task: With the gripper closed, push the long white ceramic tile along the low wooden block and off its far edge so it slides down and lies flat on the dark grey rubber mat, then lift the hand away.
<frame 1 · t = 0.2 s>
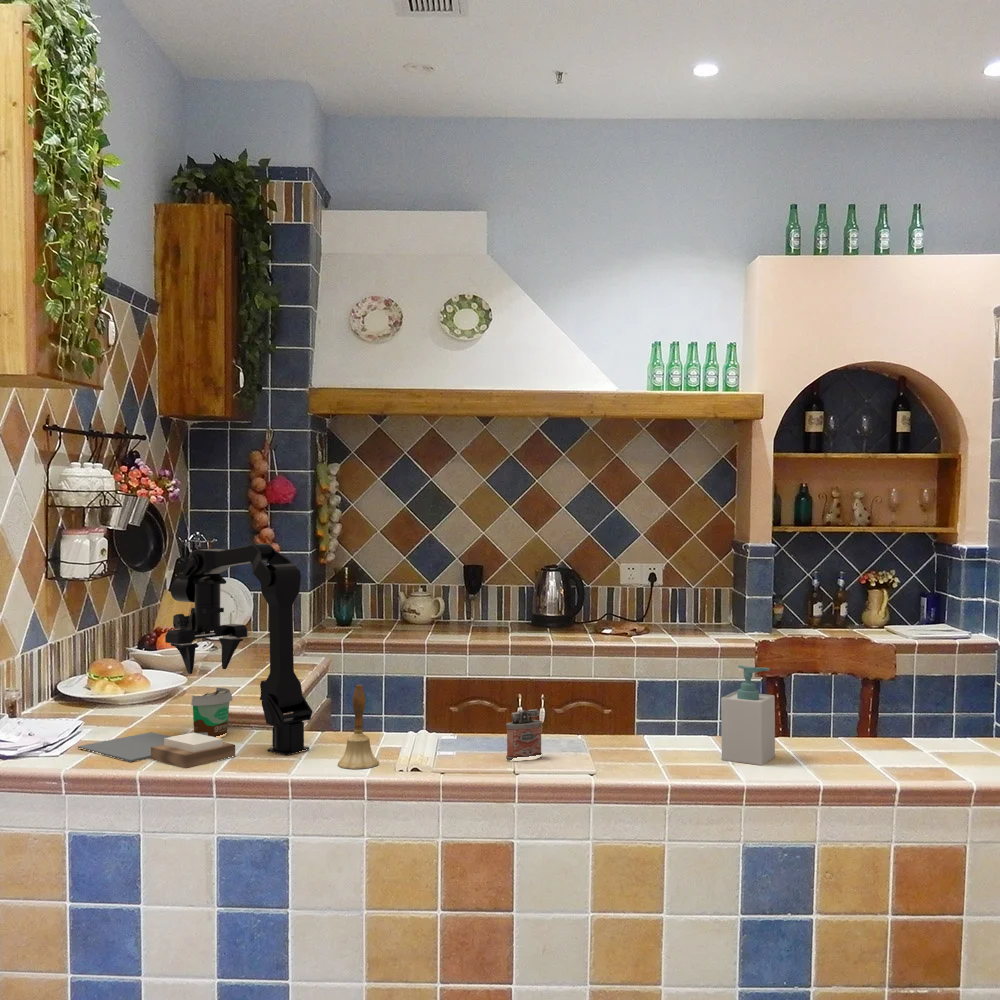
hand: (207, 671, 228), 14 cm above the countertop, tool pointing down, fingers open, 9 cm apart
lighter: (524, 759, 205), on the countertop
wooden block: (193, 757, 206), on the countertop
mat: (141, 747, 215), on the countertop
hand bell: (358, 765, 200), on the countertop
soap bottle: (748, 759, 205), on the countertop
food container: (216, 736, 227), on the countertop
tile: (193, 745, 206), point 2 cm above the countertop, touching wooden block
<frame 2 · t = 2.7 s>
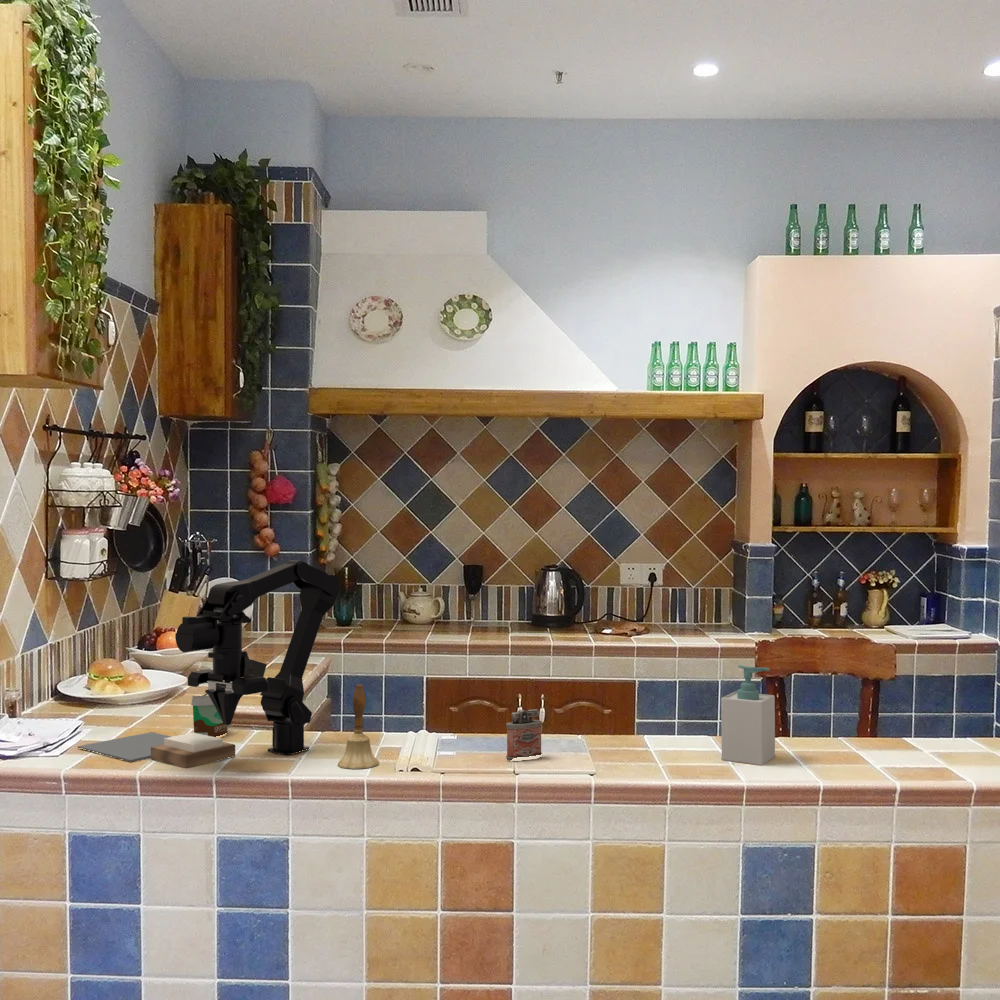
hand: (227, 724, 199), 8 cm above the countertop, tool pointing down, fingers closed
nothing on the countertop moved.
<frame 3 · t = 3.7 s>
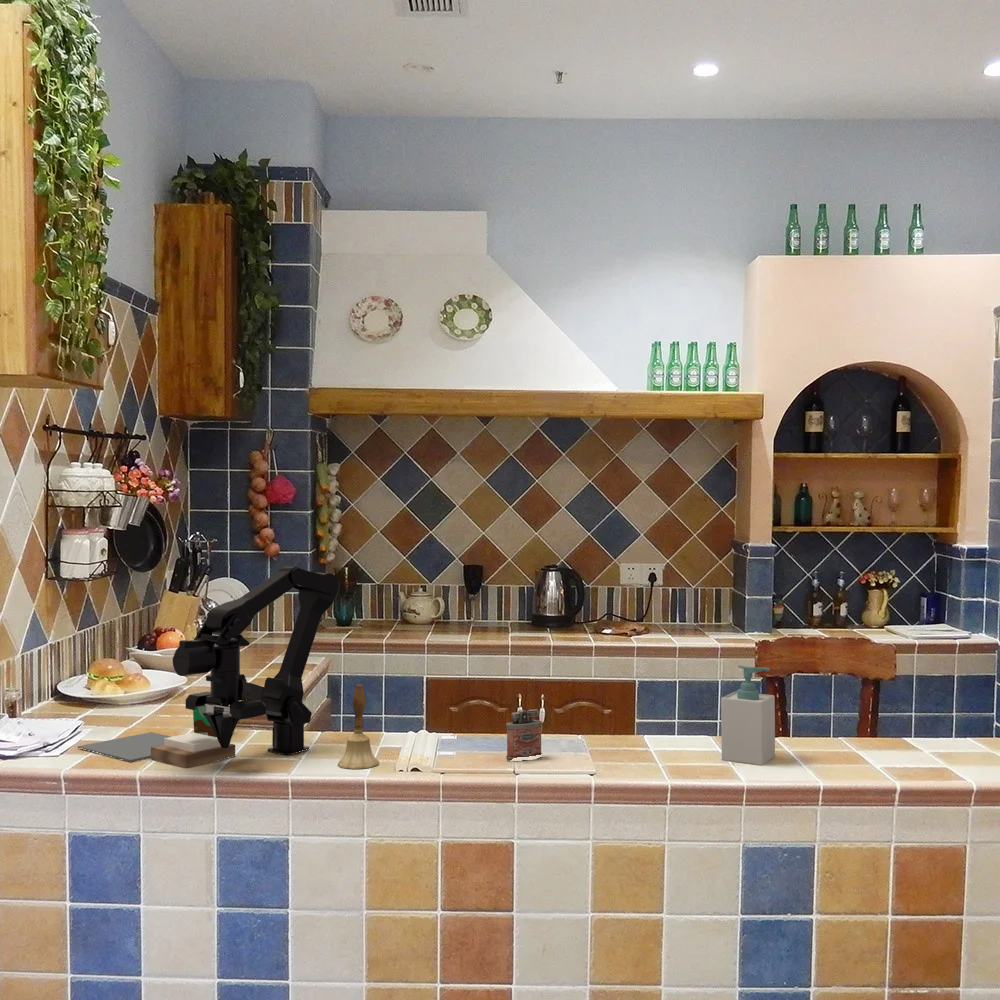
hand: (224, 747, 199), 4 cm above the countertop, tool pointing down, fingers closed
nothing on the countertop moved.
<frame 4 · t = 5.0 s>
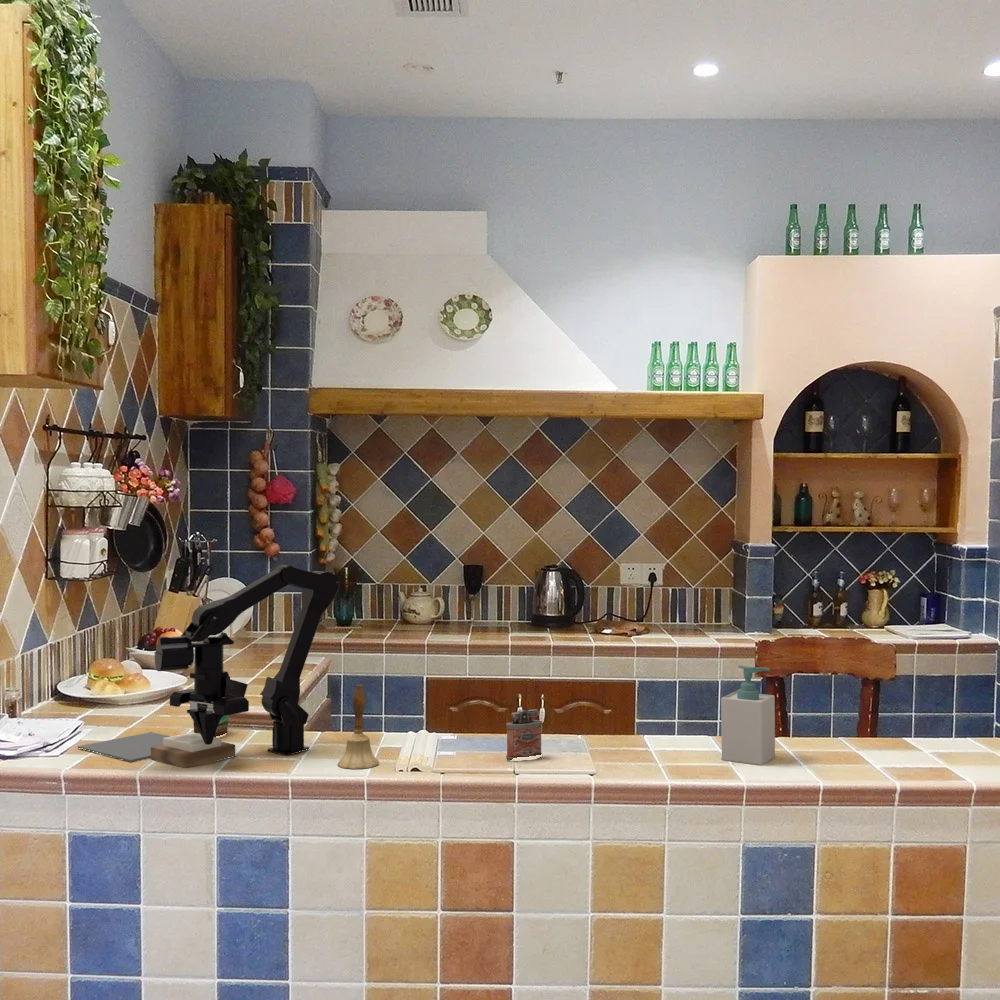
hand: (208, 744, 203), 4 cm above the countertop, tool pointing down, fingers closed
tile: (192, 745, 206), point 3 cm above the countertop, touching gripper
everything else where it was.
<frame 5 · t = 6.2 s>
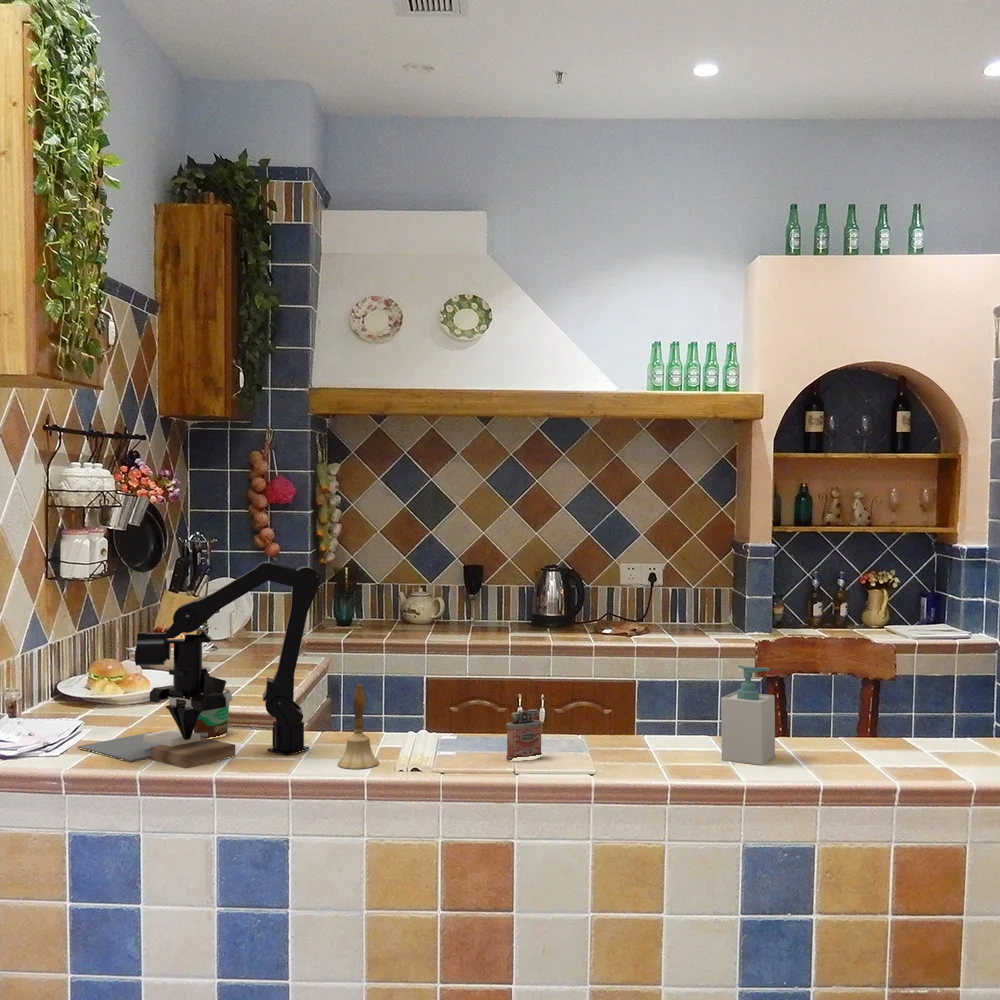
hand: (187, 739, 207), 4 cm above the countertop, tool pointing down, fingers closed
tile: (171, 741, 210), point 2 cm above the countertop, touching wooden block
everything else where it was.
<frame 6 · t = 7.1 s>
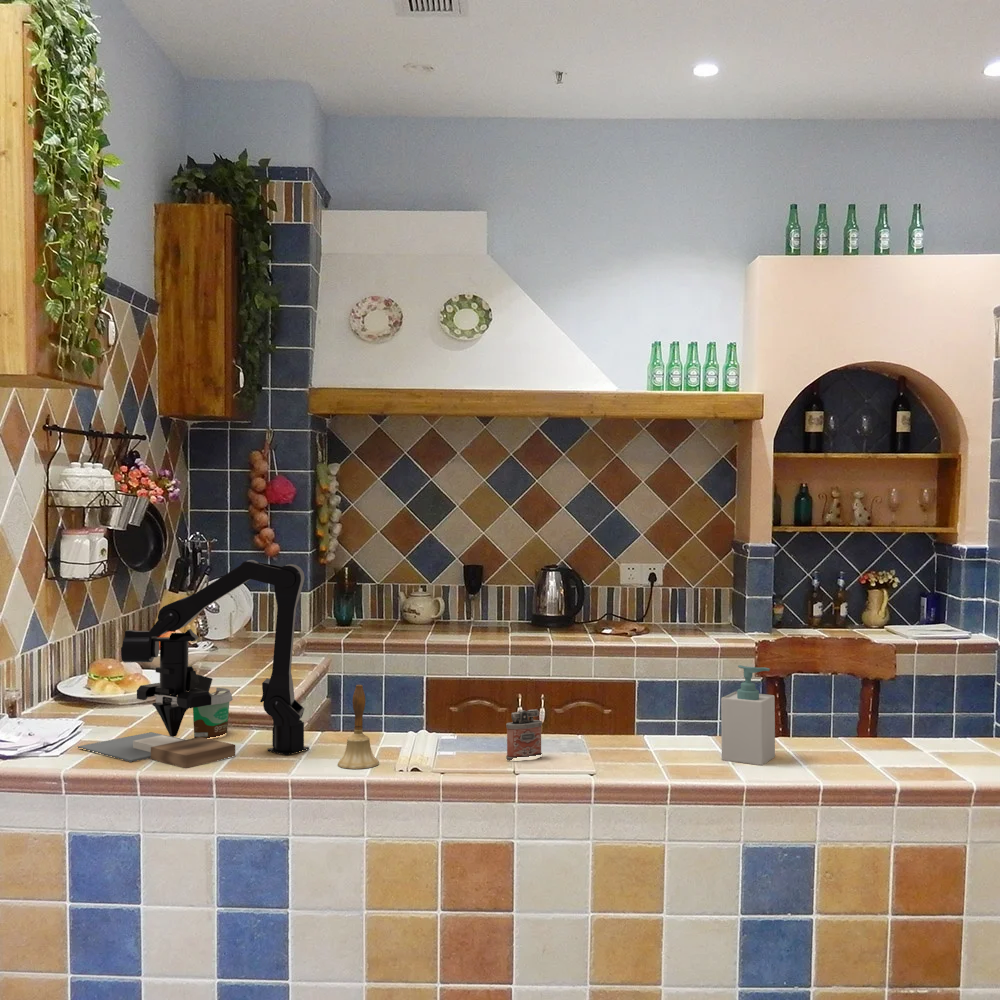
hand: (173, 736, 210), 4 cm above the countertop, tool pointing down, fingers closed
tile: (161, 748, 212), resting on mat
everything else where it was.
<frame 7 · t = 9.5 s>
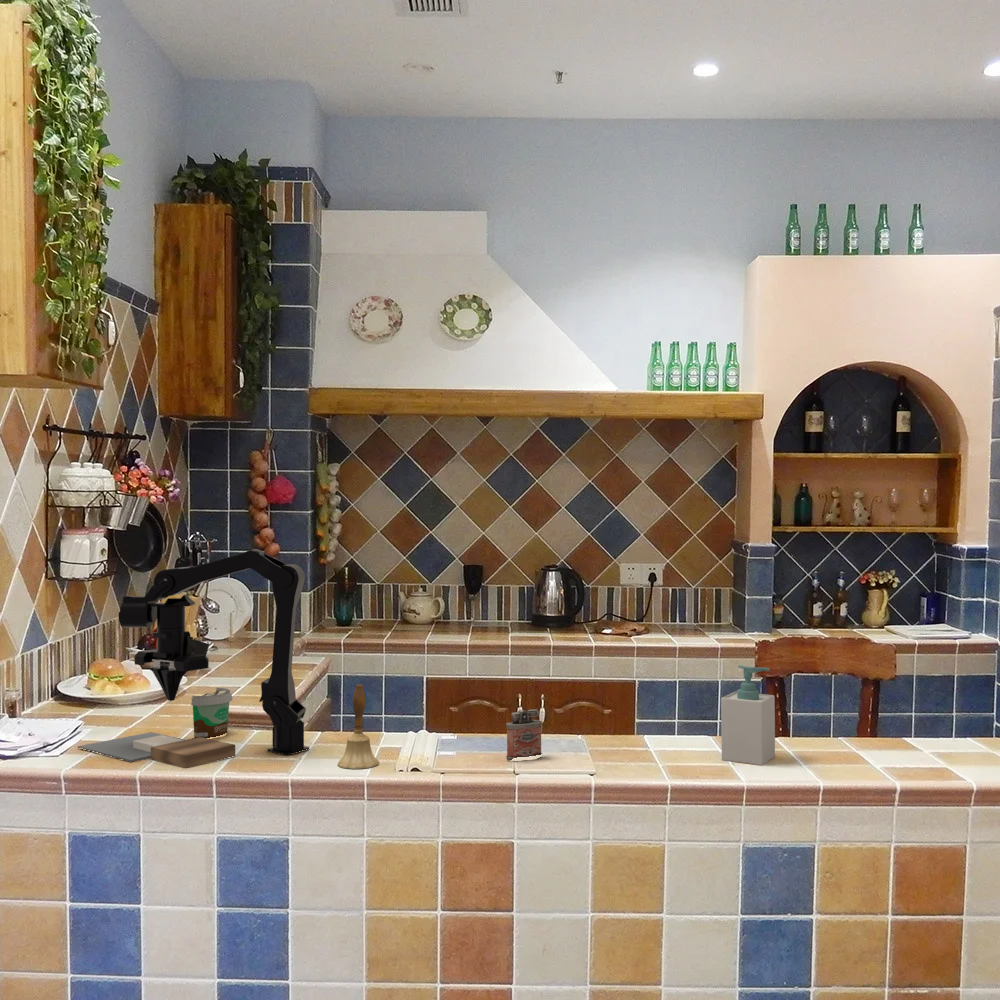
hand: (171, 700, 212), 11 cm above the countertop, tool pointing down, fingers closed
nothing on the countertop moved.
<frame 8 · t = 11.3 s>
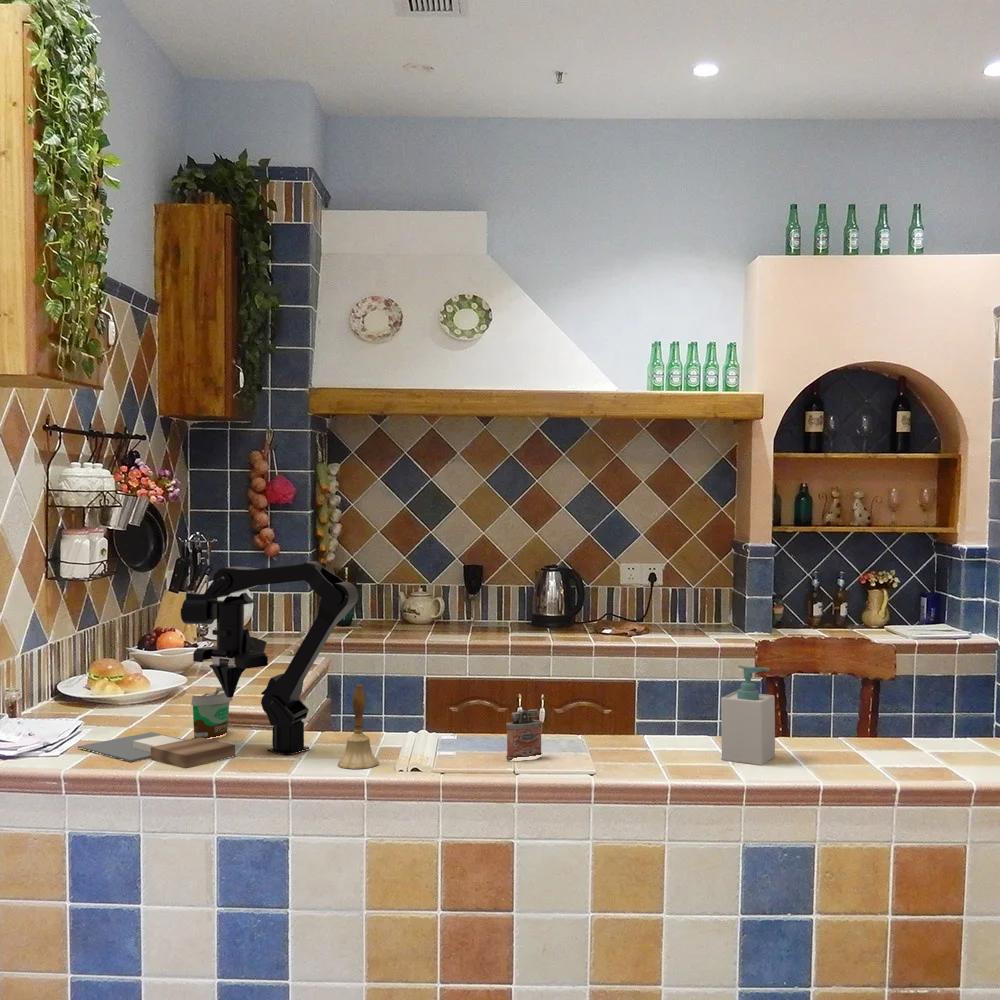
hand: (229, 697, 214), 11 cm above the countertop, tool pointing down, fingers closed
nothing on the countertop moved.
at the end: tile point 0.5 cm above the countertop; tile inside the target area on the mat (6.0 cm from its centre), point 0.5 cm above the mat's base; tile tilted 0° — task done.
